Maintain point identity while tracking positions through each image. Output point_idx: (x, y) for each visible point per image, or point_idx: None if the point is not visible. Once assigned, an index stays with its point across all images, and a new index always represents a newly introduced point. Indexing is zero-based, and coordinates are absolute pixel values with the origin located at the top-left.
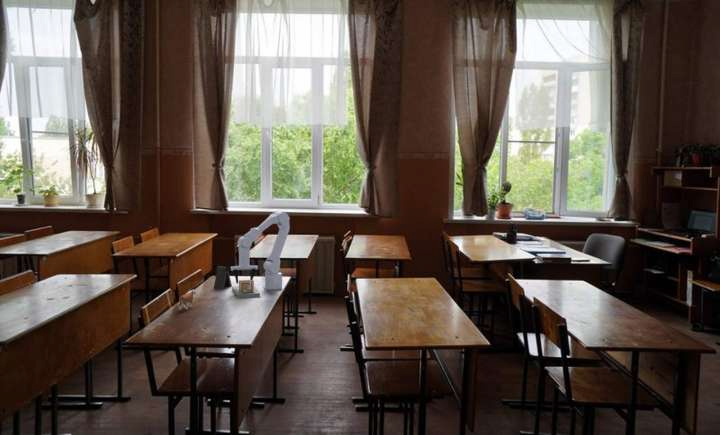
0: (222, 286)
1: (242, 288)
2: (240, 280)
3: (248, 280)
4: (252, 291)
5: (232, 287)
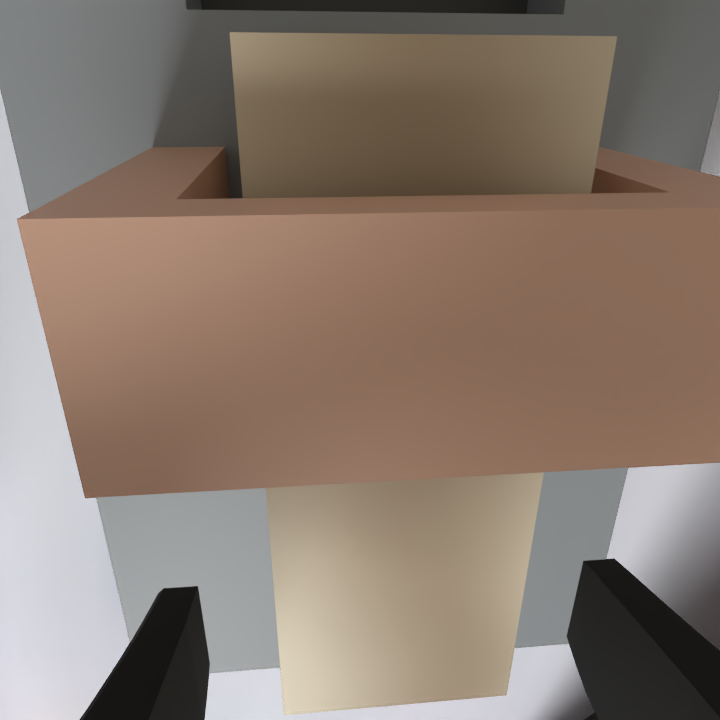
0: None
1: None
2: (683, 444)
3: (323, 374)
4: (201, 18)
5: None
